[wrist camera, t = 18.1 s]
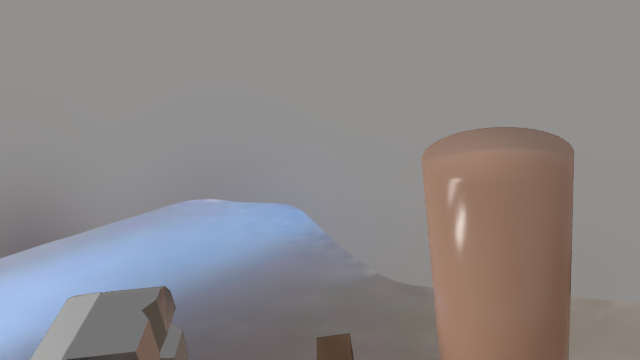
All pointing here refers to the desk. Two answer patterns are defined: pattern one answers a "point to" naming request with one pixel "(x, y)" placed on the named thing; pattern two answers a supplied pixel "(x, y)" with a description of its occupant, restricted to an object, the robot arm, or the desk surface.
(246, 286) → the desk surface
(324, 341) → the bar
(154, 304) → the robot arm
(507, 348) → the wooden peg
